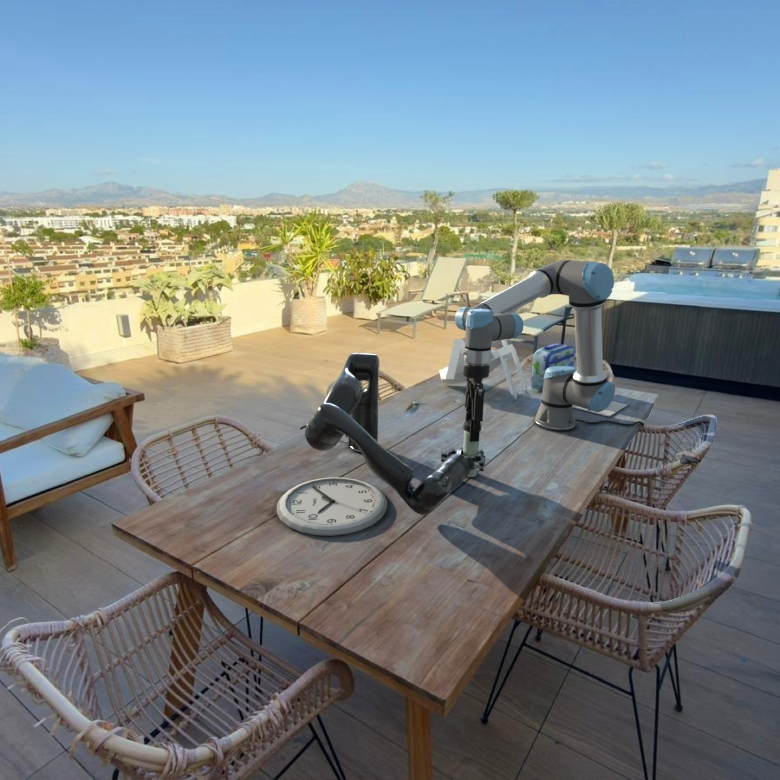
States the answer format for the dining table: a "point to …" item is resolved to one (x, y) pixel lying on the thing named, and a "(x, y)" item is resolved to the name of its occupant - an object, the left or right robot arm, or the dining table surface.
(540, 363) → the lunch box
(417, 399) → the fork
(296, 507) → the wall clock
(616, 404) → the invitation card
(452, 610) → the dining table surface
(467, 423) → the lid
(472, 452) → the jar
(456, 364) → the white plastic object
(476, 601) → the dining table surface
